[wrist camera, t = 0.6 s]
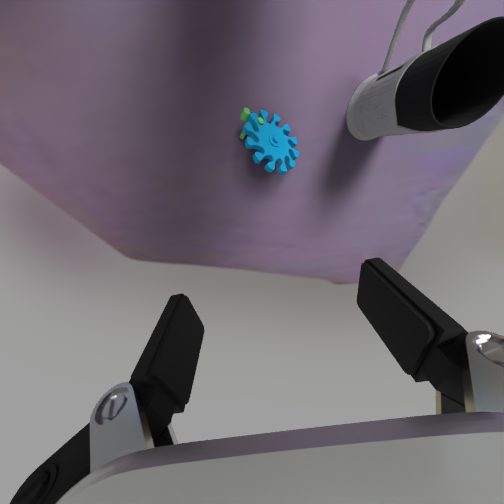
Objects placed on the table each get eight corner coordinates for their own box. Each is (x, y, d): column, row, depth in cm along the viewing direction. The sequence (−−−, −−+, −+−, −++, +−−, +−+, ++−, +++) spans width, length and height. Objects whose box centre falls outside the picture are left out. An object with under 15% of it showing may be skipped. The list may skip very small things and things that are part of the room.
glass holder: (349, 149, 32) (420, 151, 19) (337, 43, 25) (432, -66, 12) (401, 126, 31) (516, 111, 18) (402, 6, 24) (590, -161, 11)
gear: (310, 148, 30) (282, 182, 26) (288, 167, 36) (261, 198, 32) (266, 89, 28) (227, 117, 23) (249, 120, 33) (214, 147, 29)
